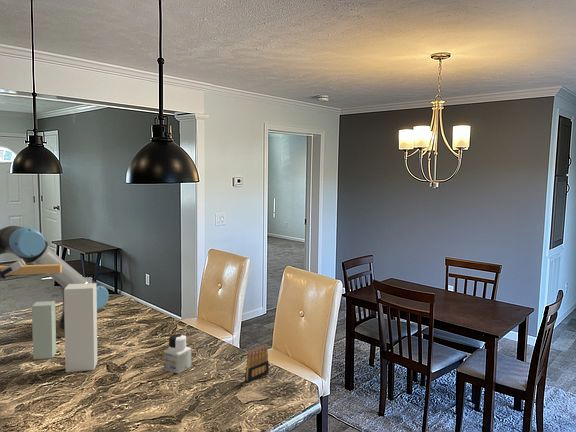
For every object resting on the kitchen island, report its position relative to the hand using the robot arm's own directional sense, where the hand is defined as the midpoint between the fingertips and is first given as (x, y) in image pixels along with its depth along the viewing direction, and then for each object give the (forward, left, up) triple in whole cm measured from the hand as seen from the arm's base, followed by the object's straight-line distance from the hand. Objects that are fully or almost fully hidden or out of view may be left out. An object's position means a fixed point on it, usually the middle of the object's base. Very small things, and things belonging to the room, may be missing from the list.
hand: (22, 262), depth 164 cm
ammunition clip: (+27, +86, -41) cm, 99 cm away
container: (+13, +57, -41) cm, 71 cm away
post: (+4, +21, -41) cm, 46 cm away
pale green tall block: (-10, +4, -41) cm, 42 cm away
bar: (0, +3, -4) cm, 5 cm away
